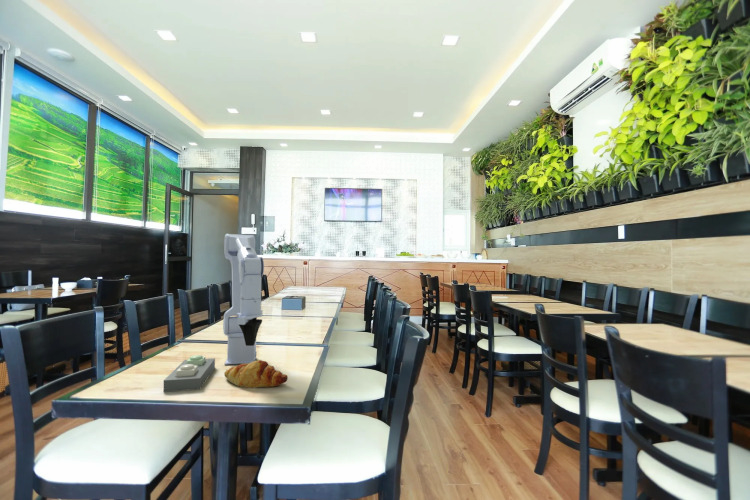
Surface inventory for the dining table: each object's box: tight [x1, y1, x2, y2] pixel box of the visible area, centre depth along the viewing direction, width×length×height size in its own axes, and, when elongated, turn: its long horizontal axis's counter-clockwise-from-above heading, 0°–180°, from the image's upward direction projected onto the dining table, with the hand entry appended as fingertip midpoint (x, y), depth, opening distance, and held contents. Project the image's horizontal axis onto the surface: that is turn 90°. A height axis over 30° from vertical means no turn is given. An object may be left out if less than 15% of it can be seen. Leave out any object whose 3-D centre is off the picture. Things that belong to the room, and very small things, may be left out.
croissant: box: [224, 359, 289, 389], centre depth 105 cm, size 21×10×8 cm, turn 73°
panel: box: [163, 357, 216, 393], centre depth 108 cm, size 9×20×3 cm, turn 13°
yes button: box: [186, 354, 206, 366], centre depth 113 cm, size 4×4×4 cm
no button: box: [176, 364, 198, 377], centre depth 103 cm, size 4×4×4 cm
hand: (250, 345), depth 106 cm, fingers closed
